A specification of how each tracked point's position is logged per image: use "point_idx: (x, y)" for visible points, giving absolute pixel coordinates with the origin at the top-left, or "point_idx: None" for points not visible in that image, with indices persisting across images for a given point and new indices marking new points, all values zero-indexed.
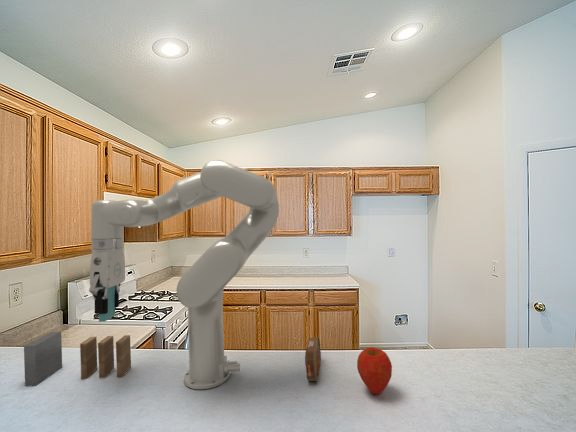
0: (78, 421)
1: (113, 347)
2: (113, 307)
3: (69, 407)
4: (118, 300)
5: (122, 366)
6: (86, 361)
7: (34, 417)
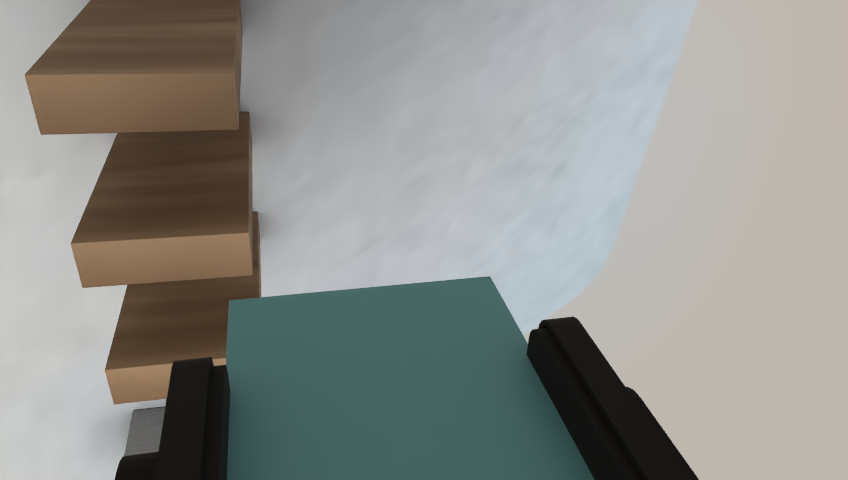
0: (659, 6)
1: (97, 187)
2: (274, 389)
3: (530, 124)
4: (175, 448)
5: (233, 9)
6: (256, 271)
7: (568, 221)
